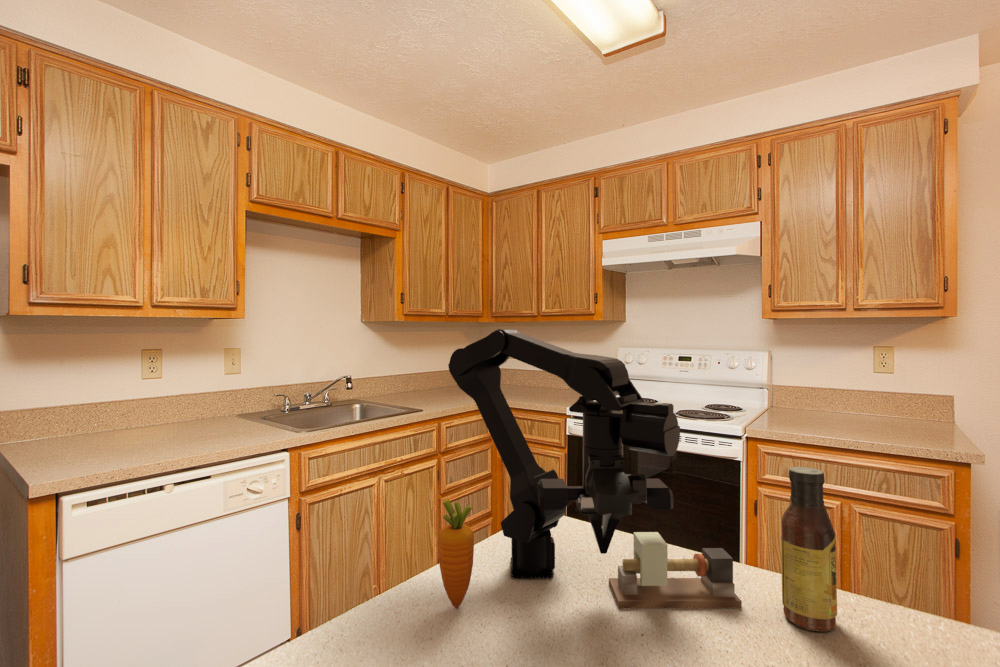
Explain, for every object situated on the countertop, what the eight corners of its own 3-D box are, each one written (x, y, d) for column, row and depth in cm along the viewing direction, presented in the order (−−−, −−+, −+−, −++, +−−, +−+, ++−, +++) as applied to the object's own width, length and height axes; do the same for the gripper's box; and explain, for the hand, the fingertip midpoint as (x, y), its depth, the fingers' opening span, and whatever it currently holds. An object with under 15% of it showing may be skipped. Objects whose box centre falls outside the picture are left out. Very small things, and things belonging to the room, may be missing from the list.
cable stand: (618, 608, 69) (618, 563, 69) (608, 584, 76) (608, 543, 76) (741, 608, 69) (741, 563, 69) (721, 584, 76) (721, 543, 76)
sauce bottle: (846, 637, 63) (846, 479, 62) (791, 631, 64) (791, 476, 64) (823, 609, 69) (823, 465, 69) (774, 604, 70) (774, 463, 70)
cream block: (641, 585, 70) (641, 544, 70) (633, 570, 75) (633, 532, 75) (667, 585, 70) (667, 544, 70) (657, 570, 75) (657, 532, 75)
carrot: (481, 607, 70) (481, 500, 70) (455, 622, 66) (454, 509, 66) (457, 594, 73) (457, 492, 73) (431, 608, 70) (430, 501, 70)
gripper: (542, 459, 64) (543, 580, 65) (688, 459, 64) (688, 580, 65) (536, 440, 76) (537, 543, 76) (660, 440, 75) (660, 543, 76)
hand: (602, 552), depth 73 cm, fingers closed
